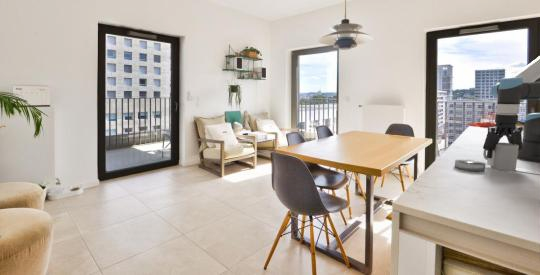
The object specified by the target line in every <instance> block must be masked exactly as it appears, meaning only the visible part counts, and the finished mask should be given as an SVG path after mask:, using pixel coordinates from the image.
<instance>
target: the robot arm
mask: <svg viewBox="0 0 540 275" xmlns="http://www.w3.org/2000/svg"><path fill="white" fill-rule="evenodd" d="M539 79H540V55H539V56H538V57H536V58H535V59H534V60H532V61H531V62H530V63H529V64H527V65H526V66H524V67H523V68H522V69H520V70H519V71H518V72H517V73H515V74H514V75H512V76H510V77H502V78H501V79H500V81H499V83H494V85H493V86H492V87H491V90H490V94H491V95H492V97H493V98H495V99H497V100H496V101H497V102H496V110H495V112H496V114H495V117H494V122H495V125H494V126H492V127H491V126H488V127H487V133H486V137H485V139H484V144H483V147H482V148H483V150H484V149H486V150H487V151H486V155H487V158H488V160H486V165H487V166H490V167H491V166H494V159H495V151H494V149H495V147H496V145H497V144H498V143H500V142H501V139H502V138H503V137H506V139H507V143H511V144H513V145H514V144H517V145H519V149H518V156H517V160H518V159H519V160H521V161H525V162H526V161H527V162H533V163H538V164H539V163H540V112H532V113H528V114H527V115H525V119H524V123H523V124H524V126H523V127H522V126H516V124H518V122H519V113H520V106H521V100H522V101H529V100H530V101H539V100H540V81H537V80H539Z"/></svg>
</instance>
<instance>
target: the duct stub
mask: <svg viewBox="0 0 540 275" xmlns="http://www.w3.org/2000/svg"><path fill="white" fill-rule="evenodd" d="M486 165H487V163H486V162H484V161H482V160H481V161H480V160H475V159H466V158H457V159H455V160H454V168H455V169H456V170H459V171H464V172H468V173H484V172H486Z"/></svg>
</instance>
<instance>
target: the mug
mask: <svg viewBox="0 0 540 275" xmlns="http://www.w3.org/2000/svg"><path fill="white" fill-rule="evenodd" d="M518 149H519V145H517V144H514V145H513V144H511V143H509V142H498V144H497V145H496V147H495V149H494V151H495V159H494V166H490V168H491V169H493V170H496V171H502V172H515V171H516V169H517V161H518V158H517V156H518ZM482 155H483V159H484V160H486V161H487V160H488V158H487V150H486V149H483V154H482Z"/></svg>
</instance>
